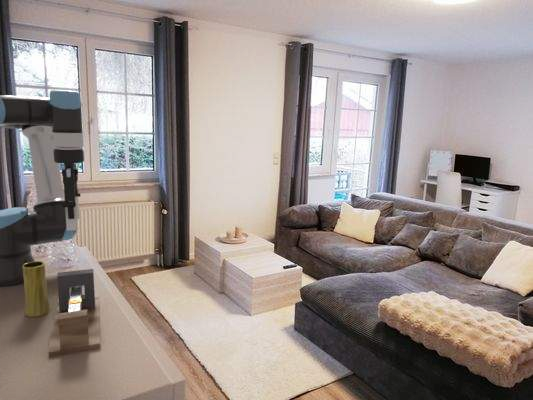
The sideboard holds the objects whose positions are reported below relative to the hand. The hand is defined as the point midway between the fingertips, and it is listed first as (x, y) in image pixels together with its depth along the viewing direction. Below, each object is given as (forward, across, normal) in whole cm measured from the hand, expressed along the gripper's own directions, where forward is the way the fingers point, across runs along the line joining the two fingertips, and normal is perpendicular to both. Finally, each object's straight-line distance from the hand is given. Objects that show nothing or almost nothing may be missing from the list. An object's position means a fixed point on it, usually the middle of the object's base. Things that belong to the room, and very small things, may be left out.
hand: (73, 224), depth 114 cm
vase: (+24, +3, -10) cm, 27 cm away
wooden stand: (+24, +14, 0) cm, 28 cm away
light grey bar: (+19, +14, 0) cm, 24 cm away
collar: (+22, +7, 0) cm, 23 cm away
